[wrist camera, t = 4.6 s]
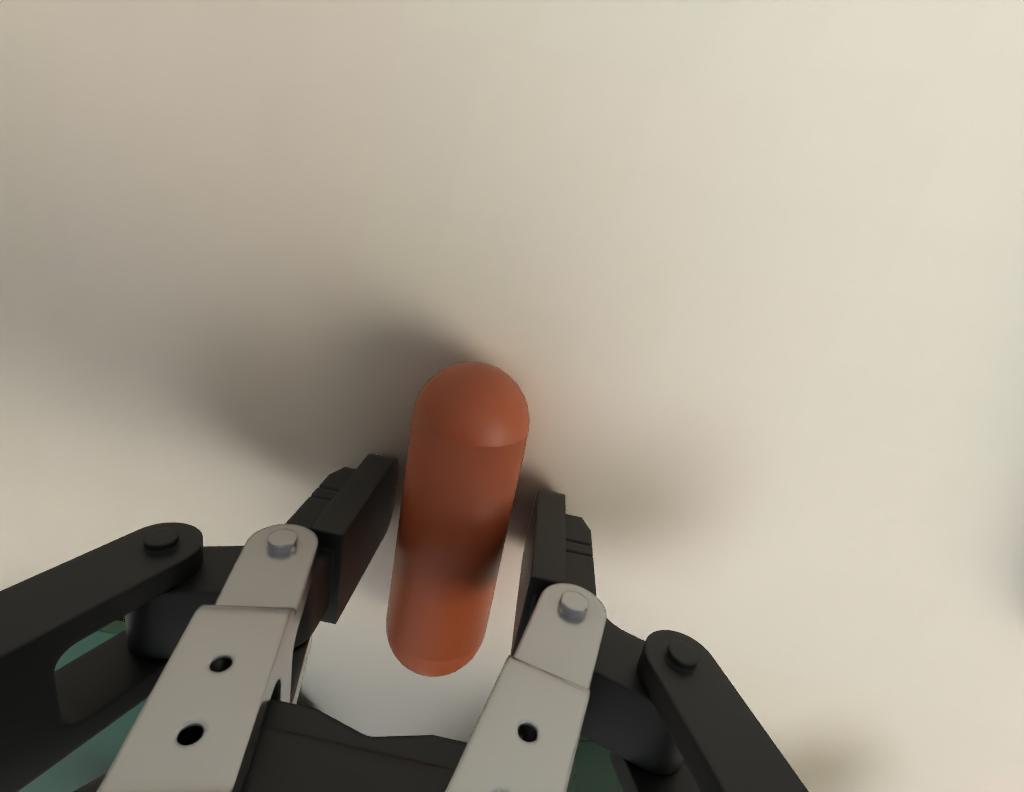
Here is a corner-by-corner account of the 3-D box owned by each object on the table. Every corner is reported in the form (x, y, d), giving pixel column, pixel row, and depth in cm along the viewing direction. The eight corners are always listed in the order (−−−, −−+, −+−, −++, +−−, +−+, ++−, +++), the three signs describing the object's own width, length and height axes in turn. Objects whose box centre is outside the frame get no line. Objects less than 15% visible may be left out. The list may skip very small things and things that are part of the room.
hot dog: (435, 339, 13) (404, 370, 10) (542, 361, 12) (537, 397, 10) (398, 613, 15) (366, 688, 13) (484, 632, 15) (469, 711, 13)
